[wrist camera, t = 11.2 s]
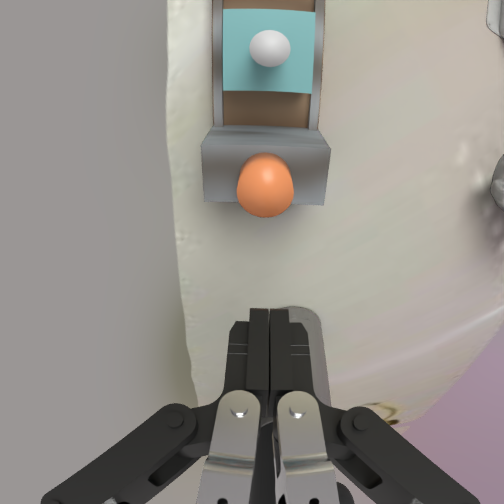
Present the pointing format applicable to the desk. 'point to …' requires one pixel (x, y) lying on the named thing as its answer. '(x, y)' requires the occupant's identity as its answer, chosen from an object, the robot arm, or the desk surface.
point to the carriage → (268, 50)
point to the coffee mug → (498, 184)
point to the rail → (265, 119)
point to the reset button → (265, 185)
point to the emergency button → (495, 17)
